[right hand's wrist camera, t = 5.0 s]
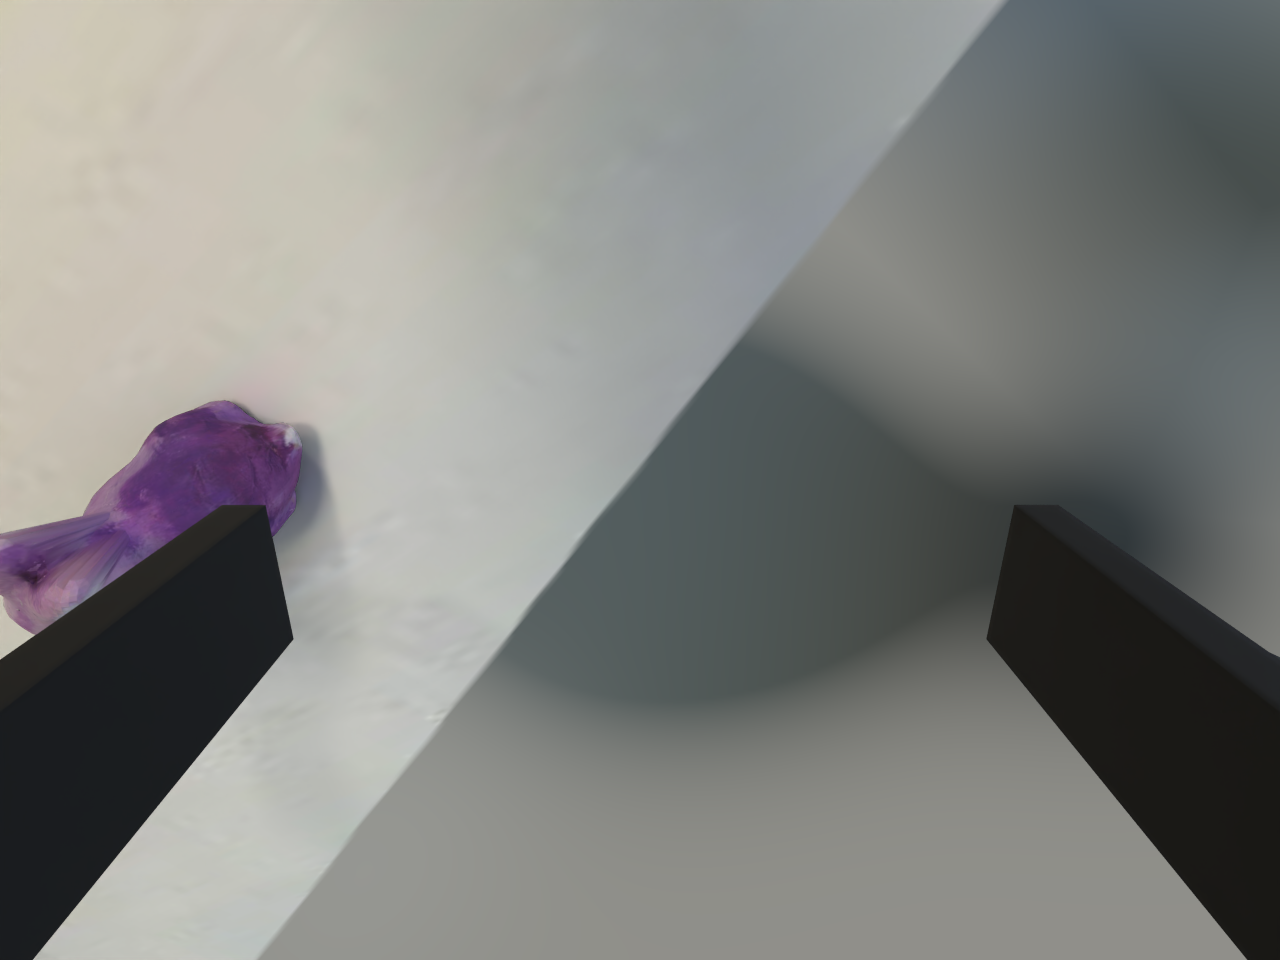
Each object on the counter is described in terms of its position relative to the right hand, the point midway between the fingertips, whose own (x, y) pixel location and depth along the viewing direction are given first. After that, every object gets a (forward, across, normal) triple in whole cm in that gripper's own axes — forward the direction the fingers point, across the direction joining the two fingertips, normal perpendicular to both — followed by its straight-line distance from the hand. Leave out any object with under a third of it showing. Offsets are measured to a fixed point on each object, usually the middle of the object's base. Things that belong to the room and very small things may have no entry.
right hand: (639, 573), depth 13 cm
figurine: (+28, -24, -9) cm, 38 cm away
